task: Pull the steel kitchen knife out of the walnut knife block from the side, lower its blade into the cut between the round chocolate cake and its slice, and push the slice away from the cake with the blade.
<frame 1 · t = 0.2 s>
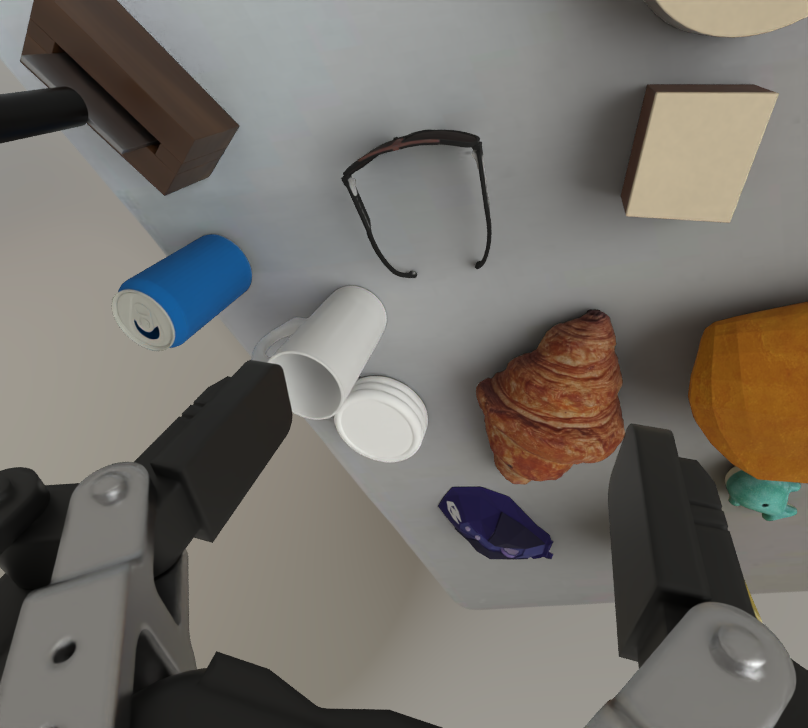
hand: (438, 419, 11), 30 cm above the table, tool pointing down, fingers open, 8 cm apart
sunglasses: (432, 204, 39), on the table
pastry: (550, 398, 46), on the table
mug: (342, 310, 47), on the table
whale figurine: (758, 480, 45), on the table
cake slice: (681, 145, 31), on the table
beverage can: (228, 262, 48), on the table
coaster: (386, 408, 53), on the table
knife block: (162, 91, 39), on the table
computer mouse: (499, 519, 58), on the table
knife: (84, 104, 33), in the knife block
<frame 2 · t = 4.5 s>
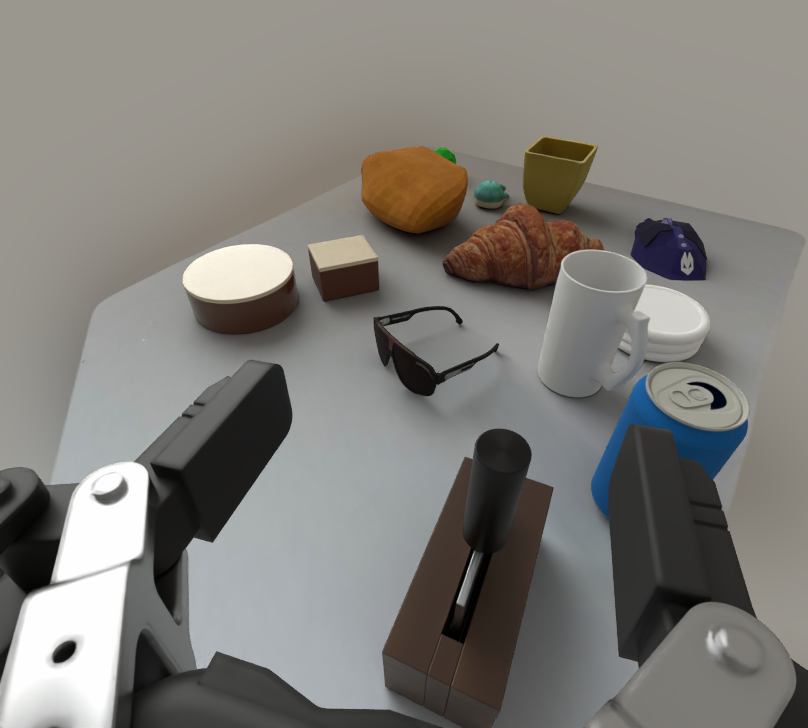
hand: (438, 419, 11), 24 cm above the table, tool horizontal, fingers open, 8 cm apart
bread: (407, 220, 73), on the table
sunglasses: (436, 358, 49), on the table
pastry: (524, 269, 62), on the table
cake: (247, 302, 56), on the table
mug: (578, 388, 46), on the table
whale figurine: (490, 203, 78), on the table
cake slice: (345, 283, 59), on the table
beverage can: (631, 504, 36), on the table
coaster: (647, 335, 52), on the table
flower pot: (549, 207, 76), on the table
polyhedron: (441, 177, 86), on the table
knife block: (469, 601, 31), on the table
computer mouse: (660, 252, 66), on the table
knife: (482, 541, 26), in the knife block
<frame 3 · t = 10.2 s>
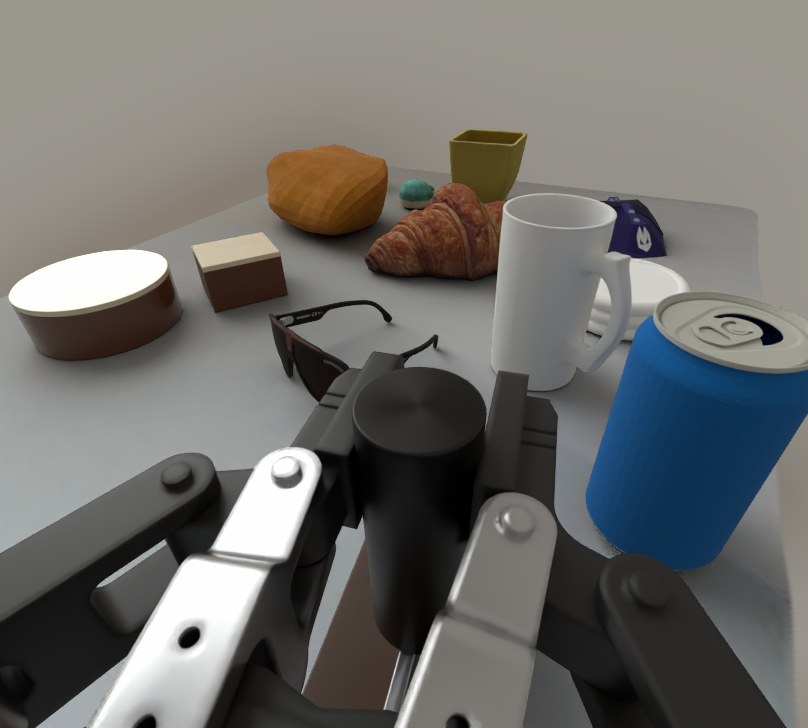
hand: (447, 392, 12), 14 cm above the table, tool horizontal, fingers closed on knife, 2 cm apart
bread: (325, 226, 63), on the table
sunglasses: (360, 362, 37), on the table
pastry: (462, 261, 53), on the table
cake: (112, 322, 43), on the table
mug: (545, 380, 35), on the table
whale figurine: (419, 205, 69), on the table
cake slice: (245, 291, 48), on the table
beverage can: (646, 523, 25), on the table
coaster: (616, 315, 43), on the table
flower pot: (484, 204, 69), on the table
computer mouse: (611, 235, 58), on the table
knife: (419, 625, 13), in the knife block, touching gripper
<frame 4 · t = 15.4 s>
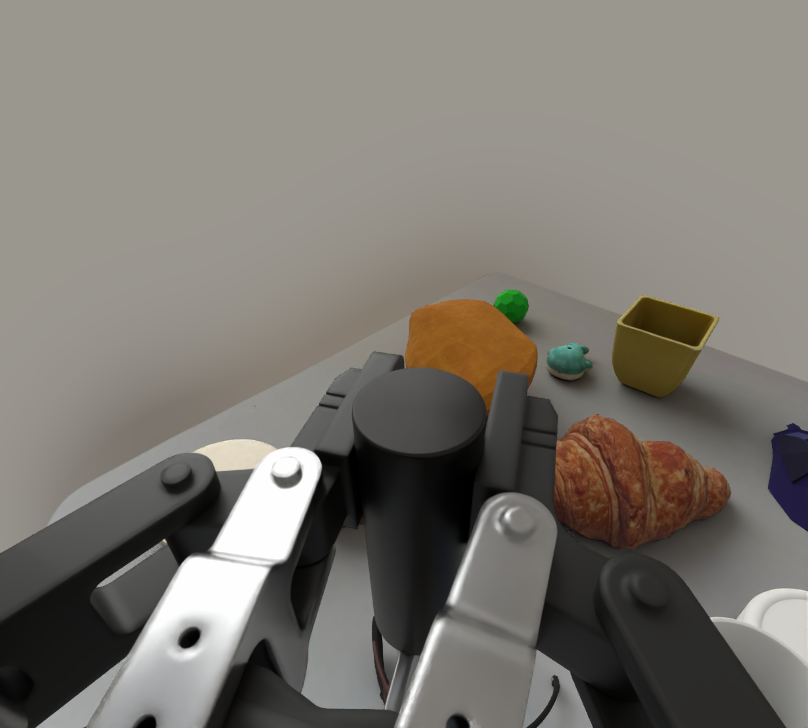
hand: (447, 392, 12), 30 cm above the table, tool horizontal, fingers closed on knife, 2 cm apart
bread: (459, 389, 59), on the table
sunglasses: (462, 680, 33), on the table
pastry: (607, 498, 45), on the table
cake: (233, 519, 44), on the table
whale figurine: (567, 368, 62), on the table
flower pot: (646, 382, 59), on the table
polyhedron: (509, 321, 72), on the table
knife: (419, 626, 13), point 24 cm above the table, touching gripper
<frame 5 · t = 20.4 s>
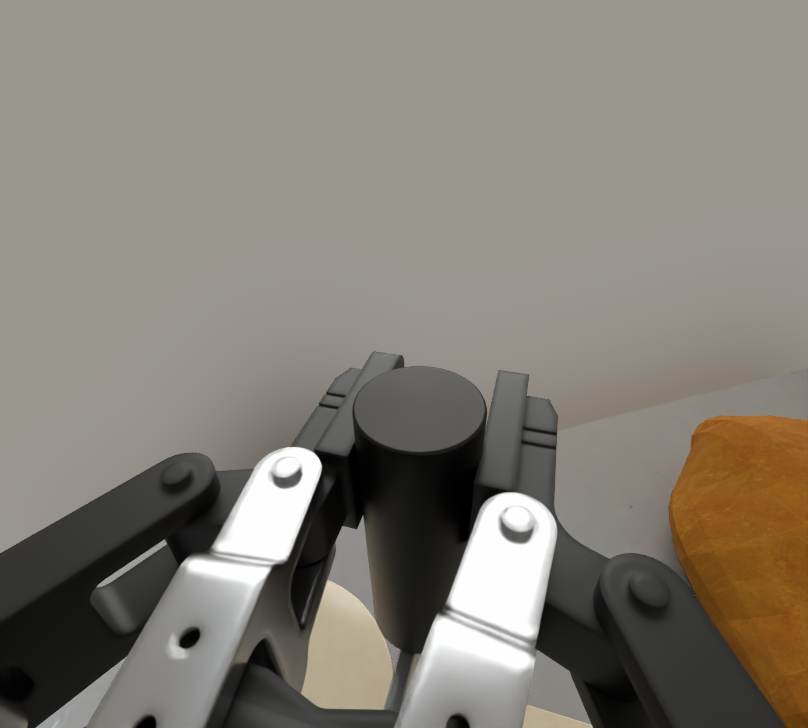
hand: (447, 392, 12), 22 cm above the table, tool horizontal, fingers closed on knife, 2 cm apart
bread: (772, 606, 29), on the table
knife: (419, 624, 13), point 16 cm above the table, touching gripper
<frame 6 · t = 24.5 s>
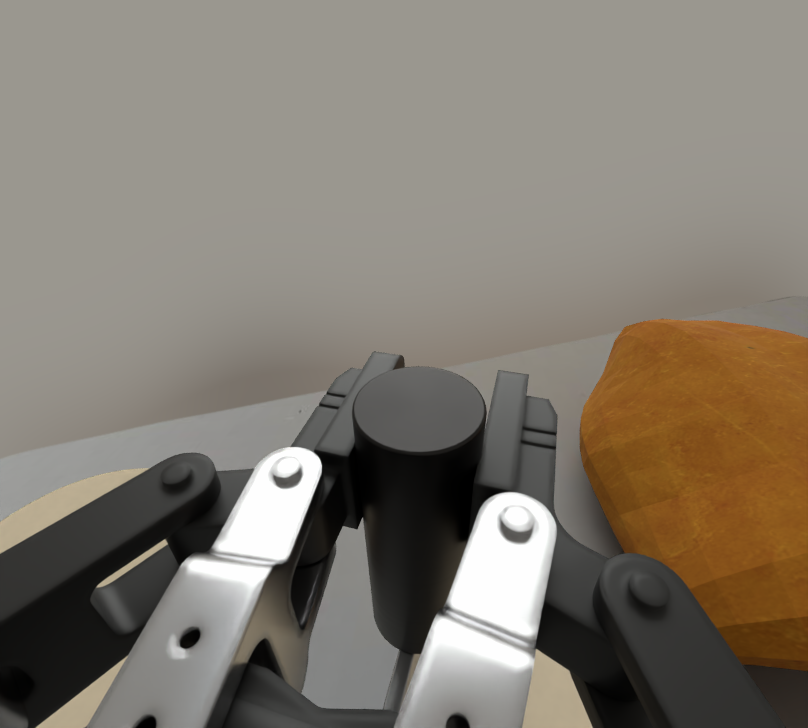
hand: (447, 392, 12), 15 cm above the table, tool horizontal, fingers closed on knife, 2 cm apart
bread: (686, 516, 26), on the table
cake: (119, 633, 22), on the table
knife: (418, 624, 13), point 9 cm above the table, touching cake slice, gripper
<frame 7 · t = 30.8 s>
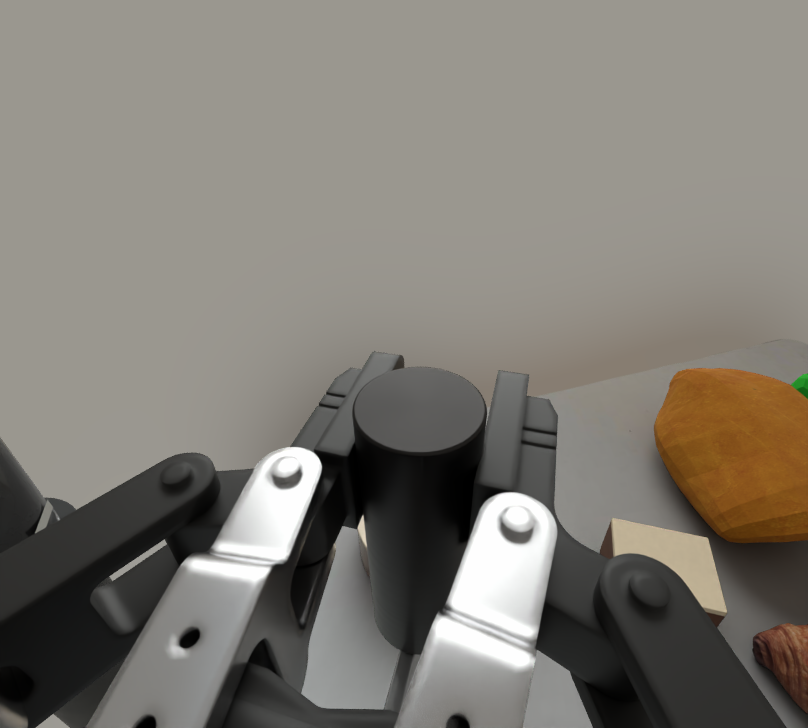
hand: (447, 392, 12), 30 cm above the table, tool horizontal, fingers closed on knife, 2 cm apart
bread: (717, 483, 47), on the table
cake: (427, 541, 42), on the table
cake slice: (647, 593, 38), on the table
polyhedron: (805, 412, 55), on the table
knife: (419, 625, 13), point 24 cm above the table, touching gripper
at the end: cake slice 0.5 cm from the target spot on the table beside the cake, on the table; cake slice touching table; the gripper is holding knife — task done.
